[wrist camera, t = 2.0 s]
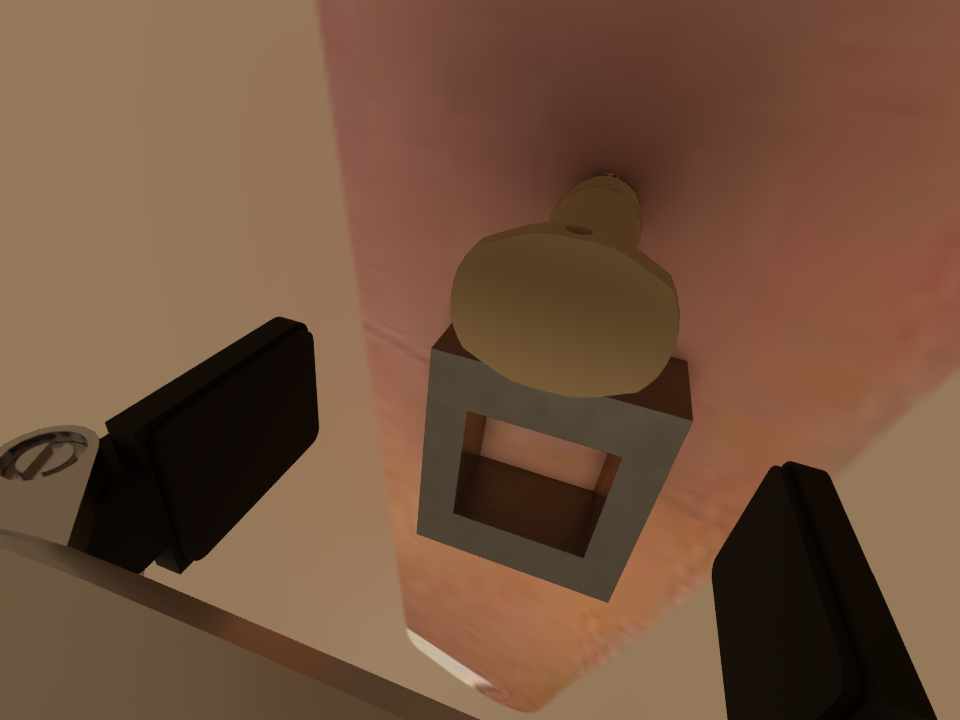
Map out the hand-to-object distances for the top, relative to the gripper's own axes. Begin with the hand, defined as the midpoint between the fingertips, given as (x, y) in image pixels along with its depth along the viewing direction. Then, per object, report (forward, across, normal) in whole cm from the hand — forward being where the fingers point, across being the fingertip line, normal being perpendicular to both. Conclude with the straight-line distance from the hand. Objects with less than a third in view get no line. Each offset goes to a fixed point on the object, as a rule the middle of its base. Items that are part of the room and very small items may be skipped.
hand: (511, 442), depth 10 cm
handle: (+20, 0, -1) cm, 20 cm away
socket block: (+20, 0, +15) cm, 25 cm away
